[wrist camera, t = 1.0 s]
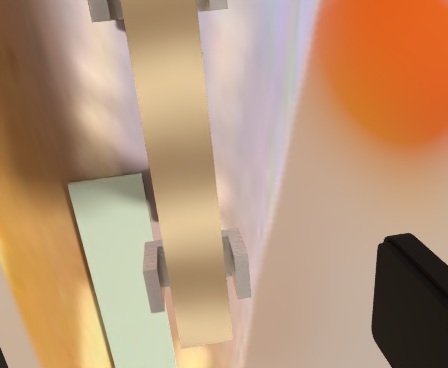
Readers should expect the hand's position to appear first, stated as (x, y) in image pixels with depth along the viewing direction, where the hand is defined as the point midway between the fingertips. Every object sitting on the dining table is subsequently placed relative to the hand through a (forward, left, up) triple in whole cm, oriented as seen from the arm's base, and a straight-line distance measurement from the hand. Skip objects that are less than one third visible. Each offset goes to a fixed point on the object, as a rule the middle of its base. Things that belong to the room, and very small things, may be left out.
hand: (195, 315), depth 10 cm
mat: (+17, -6, -25) cm, 31 cm away
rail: (0, 0, -14) cm, 14 cm away
